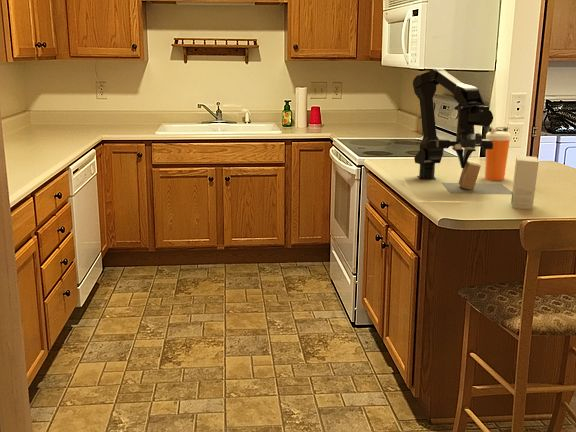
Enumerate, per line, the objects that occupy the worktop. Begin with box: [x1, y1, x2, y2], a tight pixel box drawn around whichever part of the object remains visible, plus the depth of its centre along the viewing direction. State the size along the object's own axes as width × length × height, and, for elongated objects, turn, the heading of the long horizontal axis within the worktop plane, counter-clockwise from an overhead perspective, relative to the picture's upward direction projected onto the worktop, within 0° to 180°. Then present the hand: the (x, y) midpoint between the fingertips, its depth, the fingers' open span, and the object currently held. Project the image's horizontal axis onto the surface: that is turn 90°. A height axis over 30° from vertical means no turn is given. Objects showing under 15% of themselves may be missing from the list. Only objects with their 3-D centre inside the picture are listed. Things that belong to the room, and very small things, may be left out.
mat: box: [441, 182, 512, 195], centre depth 230 cm, size 18×22×1 cm
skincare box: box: [510, 155, 539, 211], centre depth 204 cm, size 8×7×16 cm
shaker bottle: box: [484, 126, 512, 181], centre depth 245 cm, size 9×9×20 cm
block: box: [457, 159, 482, 190], centre depth 229 cm, size 7×4×9 cm, turn 177°
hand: (462, 168), depth 228 cm, fingers closed
